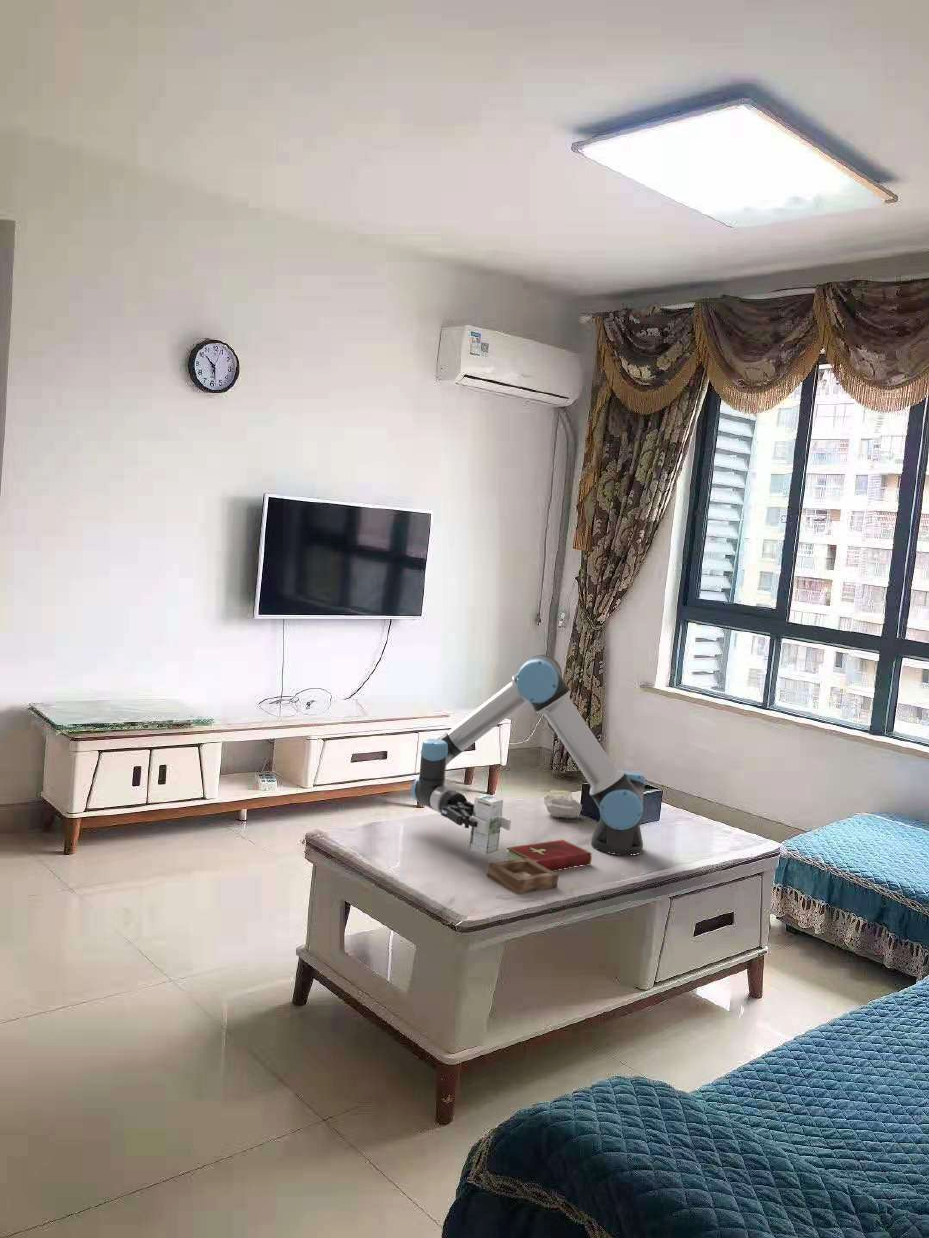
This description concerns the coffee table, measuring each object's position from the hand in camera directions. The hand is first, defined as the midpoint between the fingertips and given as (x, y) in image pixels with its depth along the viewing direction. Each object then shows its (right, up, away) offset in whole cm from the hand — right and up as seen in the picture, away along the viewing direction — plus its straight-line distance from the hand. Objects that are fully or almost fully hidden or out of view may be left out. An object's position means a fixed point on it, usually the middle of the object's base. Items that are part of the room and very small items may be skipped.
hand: (497, 826), depth 272 cm
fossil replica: (+22, -9, +58) cm, 63 cm away
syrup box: (-4, -8, +5) cm, 10 cm away
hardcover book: (+14, -13, +11) cm, 22 cm away
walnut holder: (+6, -13, -7) cm, 16 cm away
